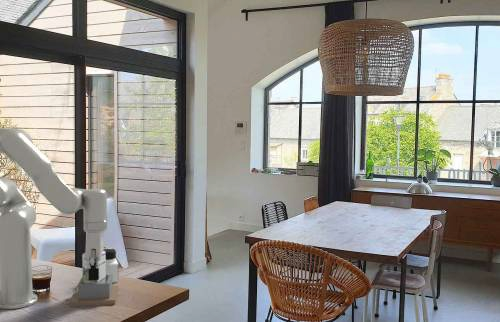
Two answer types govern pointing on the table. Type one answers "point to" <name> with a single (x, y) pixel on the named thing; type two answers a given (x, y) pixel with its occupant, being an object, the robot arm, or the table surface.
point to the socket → (95, 293)
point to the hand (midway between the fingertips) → (95, 275)
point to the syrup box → (100, 265)
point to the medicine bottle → (111, 264)
